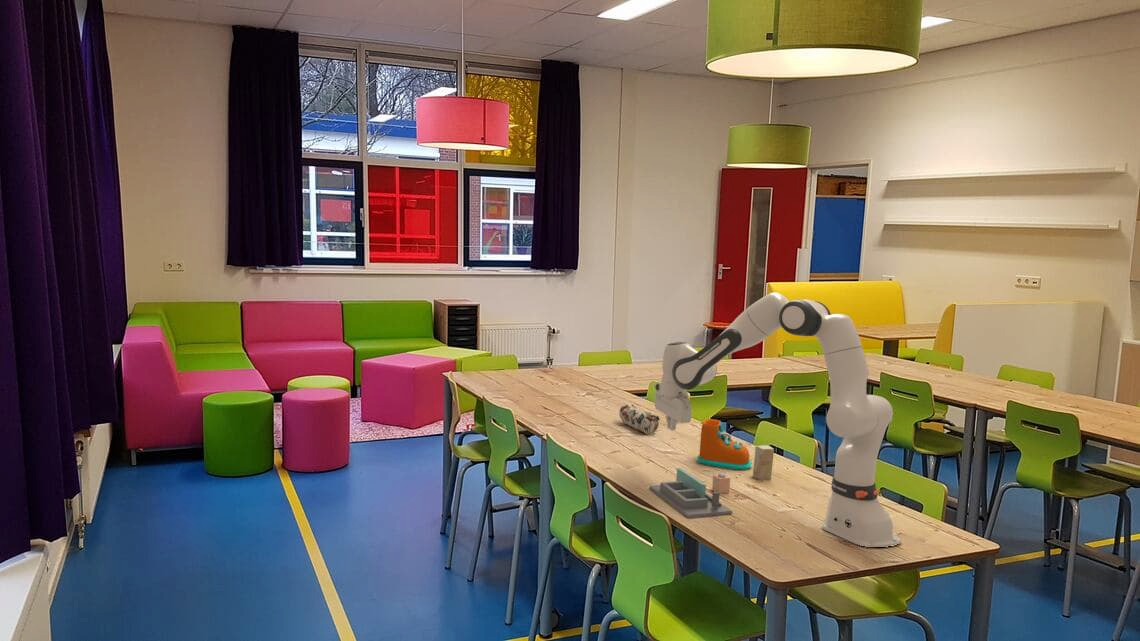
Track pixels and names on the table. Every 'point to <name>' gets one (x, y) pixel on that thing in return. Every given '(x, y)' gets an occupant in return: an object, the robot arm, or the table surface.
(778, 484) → the table surface
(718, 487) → the peach button block
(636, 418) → the pencil case
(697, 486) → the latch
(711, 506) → the housing
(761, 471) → the box
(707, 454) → the toy shoe
